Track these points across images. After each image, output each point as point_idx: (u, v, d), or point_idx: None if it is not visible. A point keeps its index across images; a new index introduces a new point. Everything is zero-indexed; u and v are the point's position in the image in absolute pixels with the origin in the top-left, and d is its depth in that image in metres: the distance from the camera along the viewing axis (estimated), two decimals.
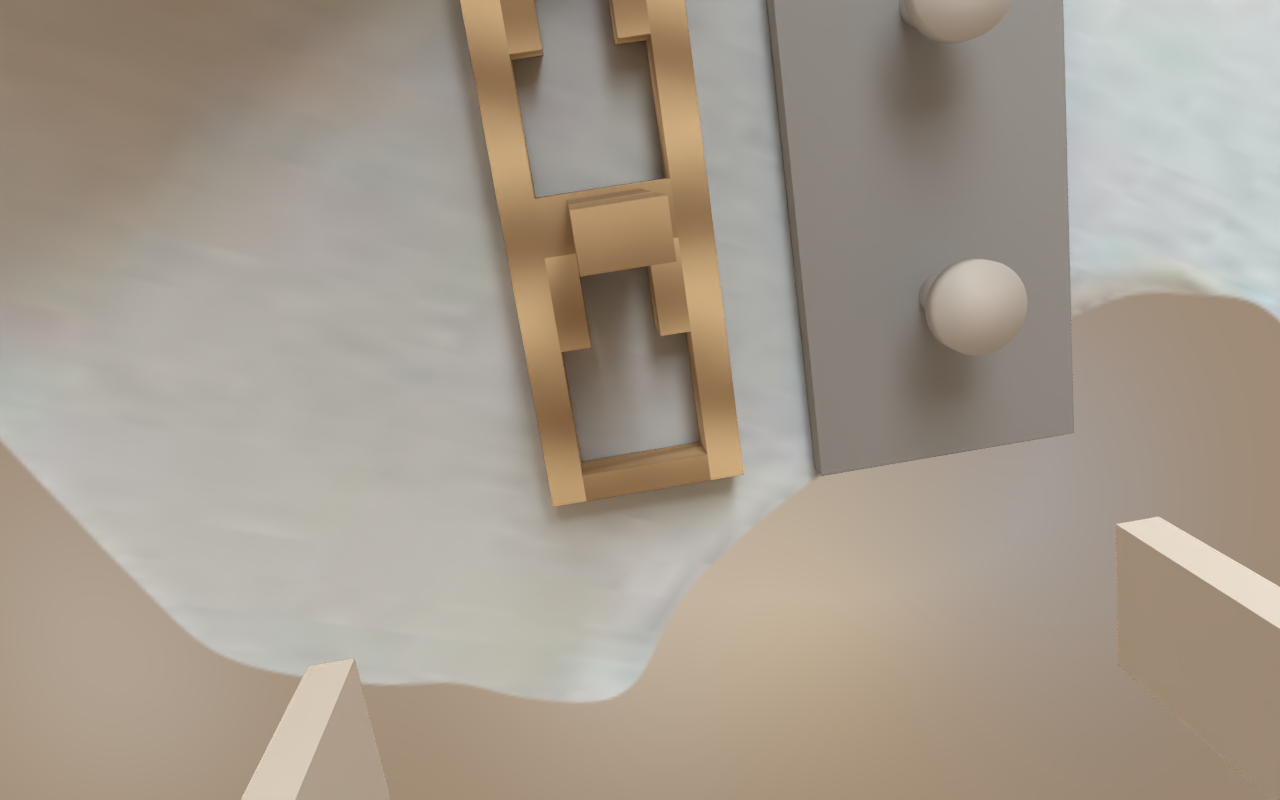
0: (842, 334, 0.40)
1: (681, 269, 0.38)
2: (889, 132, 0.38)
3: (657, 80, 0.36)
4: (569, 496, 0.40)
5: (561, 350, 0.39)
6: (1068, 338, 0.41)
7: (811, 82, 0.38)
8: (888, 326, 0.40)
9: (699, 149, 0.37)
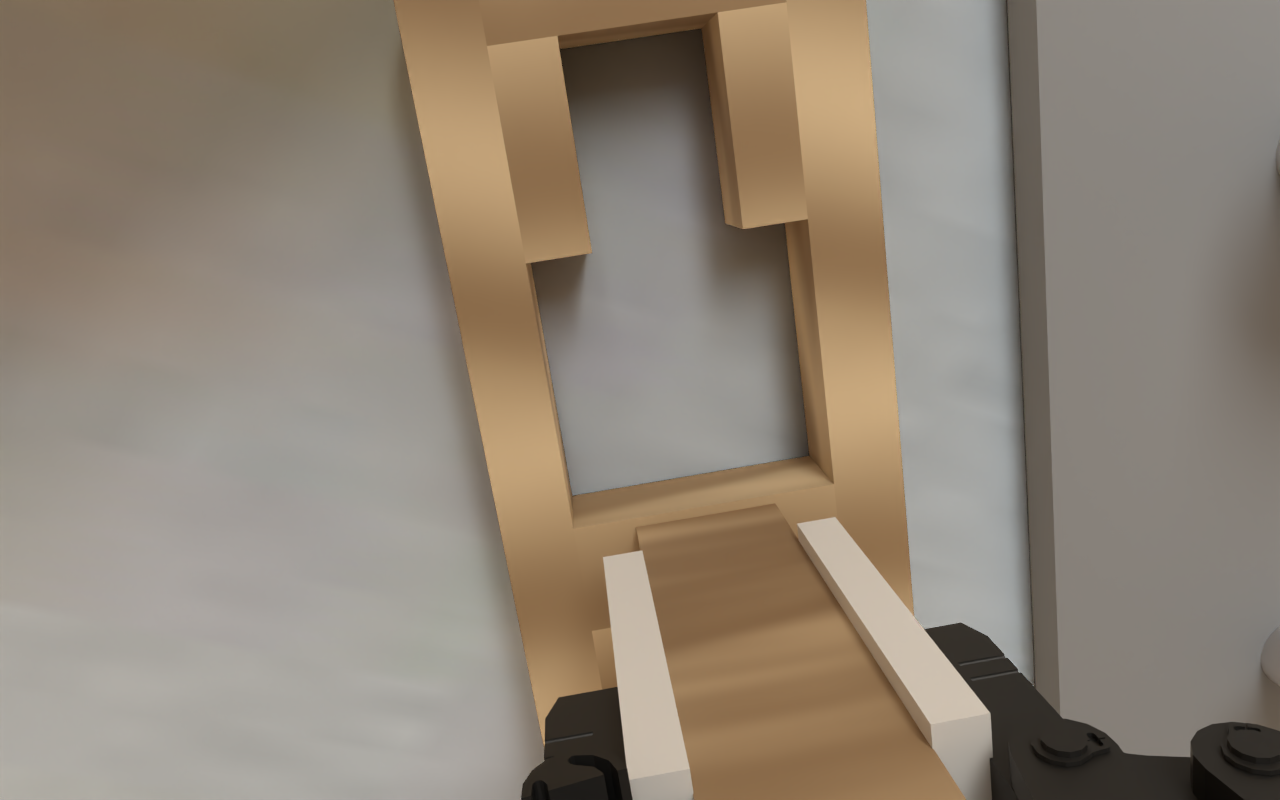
0: (1121, 723, 0.22)
1: None
2: (1236, 381, 0.20)
3: (817, 306, 0.18)
4: None
5: None
6: None
7: (1100, 296, 0.20)
8: (1203, 707, 0.23)
9: (892, 431, 0.19)
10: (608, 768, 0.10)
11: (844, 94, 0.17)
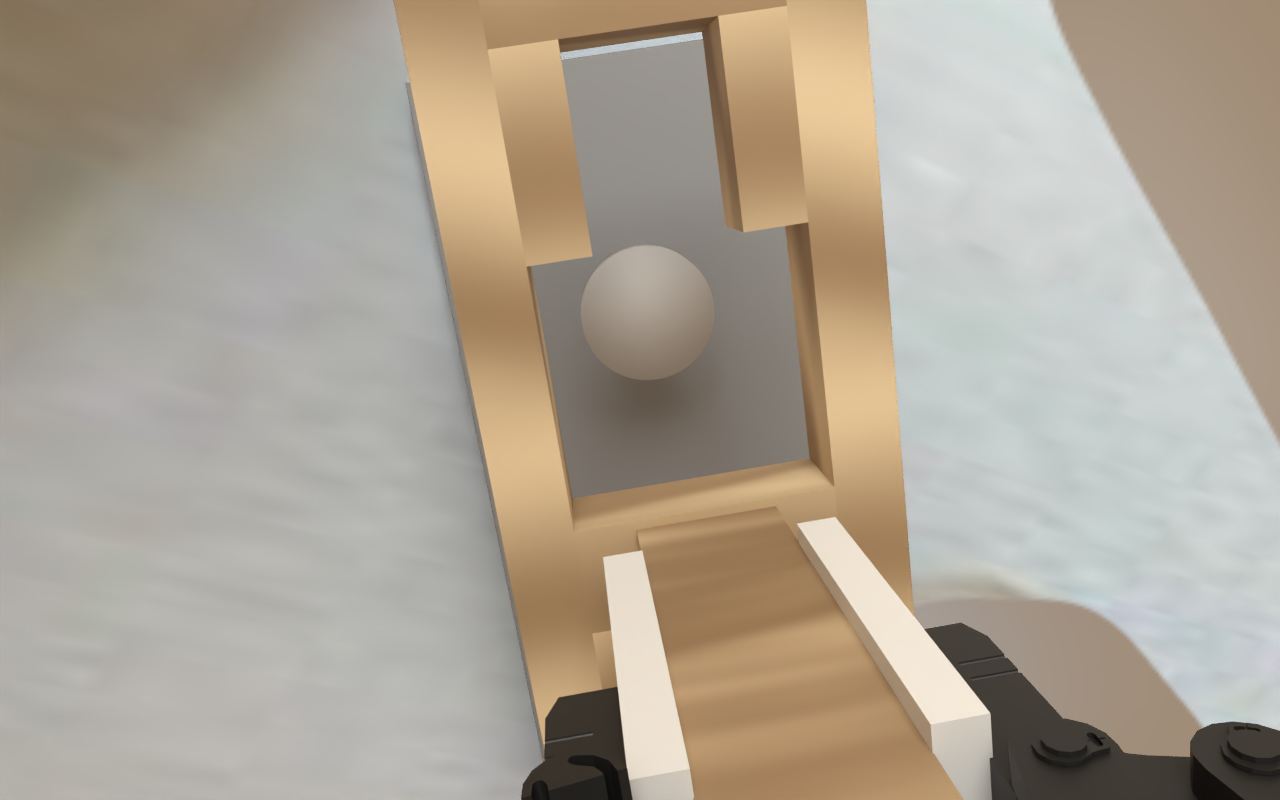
0: None
1: None
2: (608, 441, 0.31)
3: (817, 309, 0.18)
4: None
5: None
6: None
7: None
8: None
9: (892, 434, 0.19)
10: (608, 768, 0.10)
11: (844, 97, 0.17)
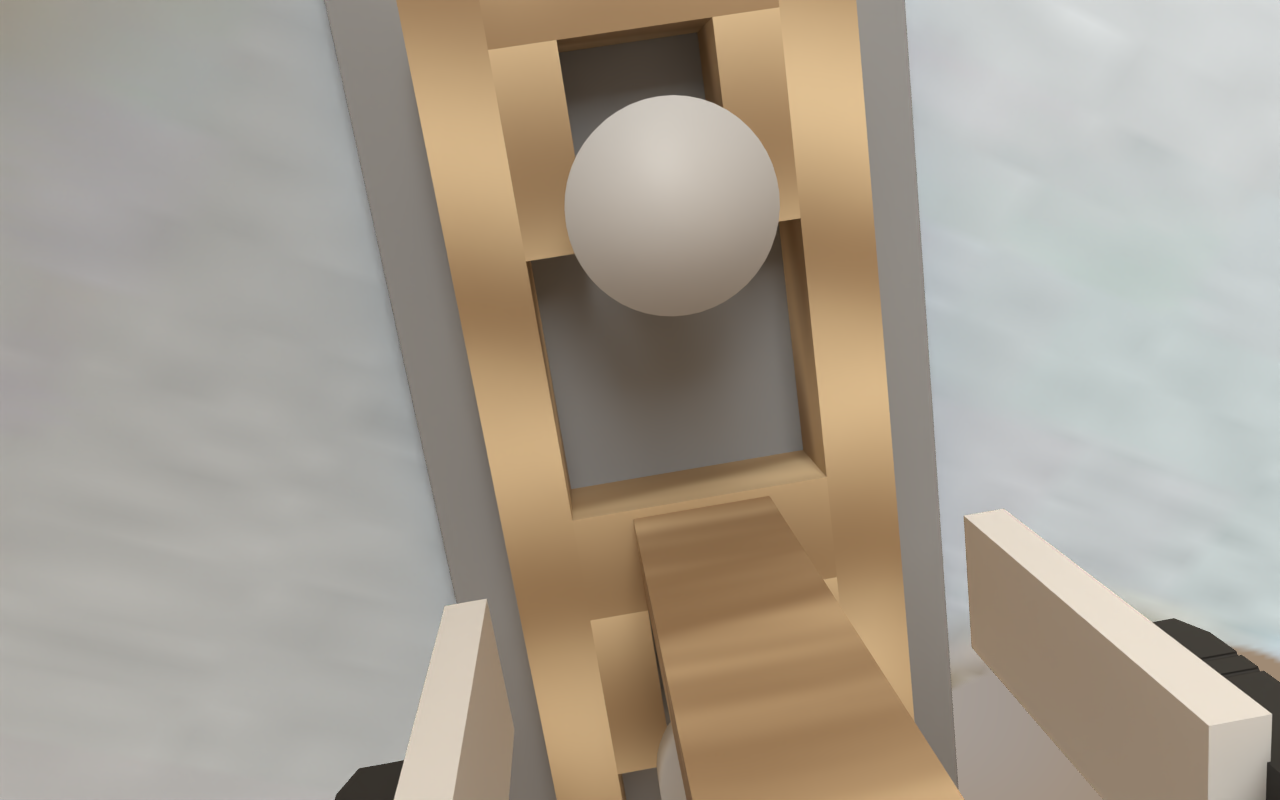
0: None
1: None
2: (609, 421, 0.21)
3: (809, 303, 0.19)
4: None
5: (619, 770, 0.21)
6: (949, 739, 0.24)
7: (455, 340, 0.20)
8: None
9: (883, 425, 0.20)
10: None
11: (836, 96, 0.18)
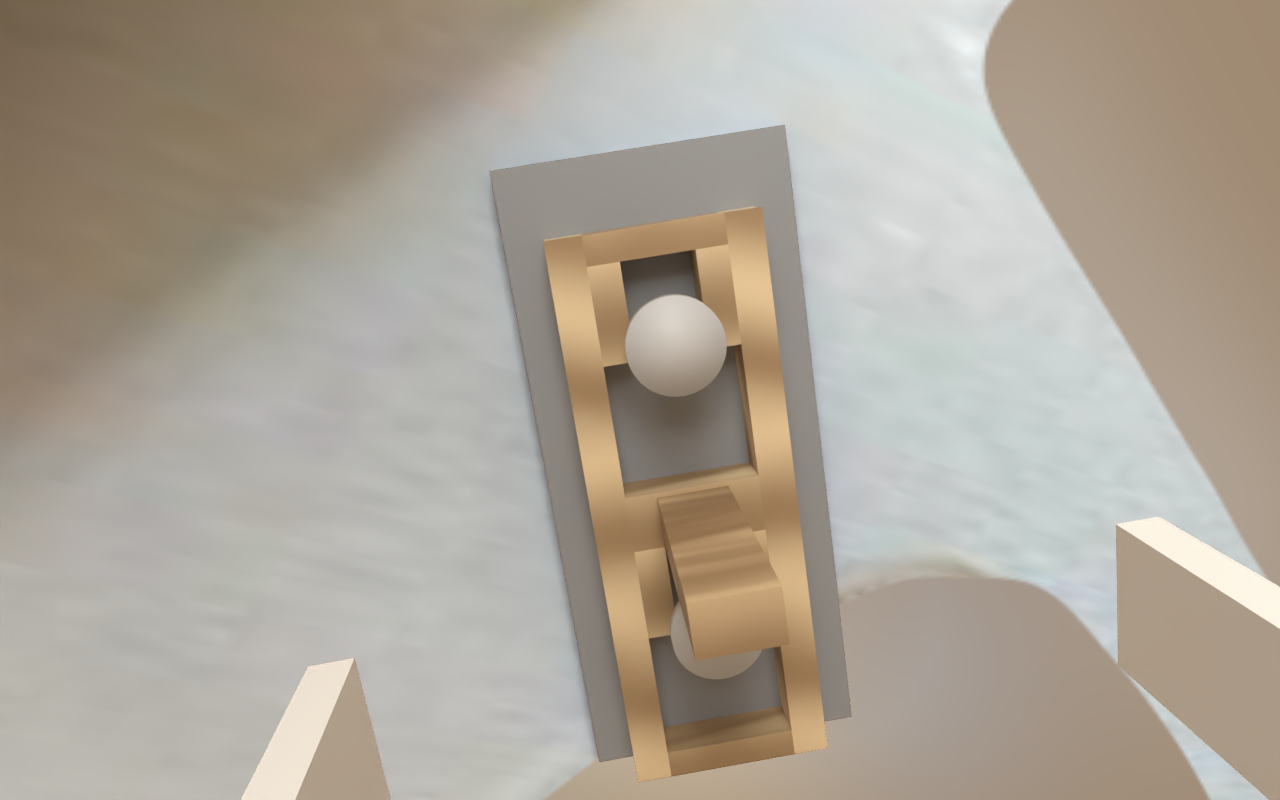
0: (610, 631, 0.41)
1: (768, 559, 0.39)
2: (643, 447, 0.39)
3: (747, 386, 0.37)
4: (654, 772, 0.41)
5: (649, 636, 0.39)
6: (838, 629, 0.42)
7: (562, 404, 0.39)
8: None
9: (787, 448, 0.38)
10: None
11: (757, 285, 0.36)
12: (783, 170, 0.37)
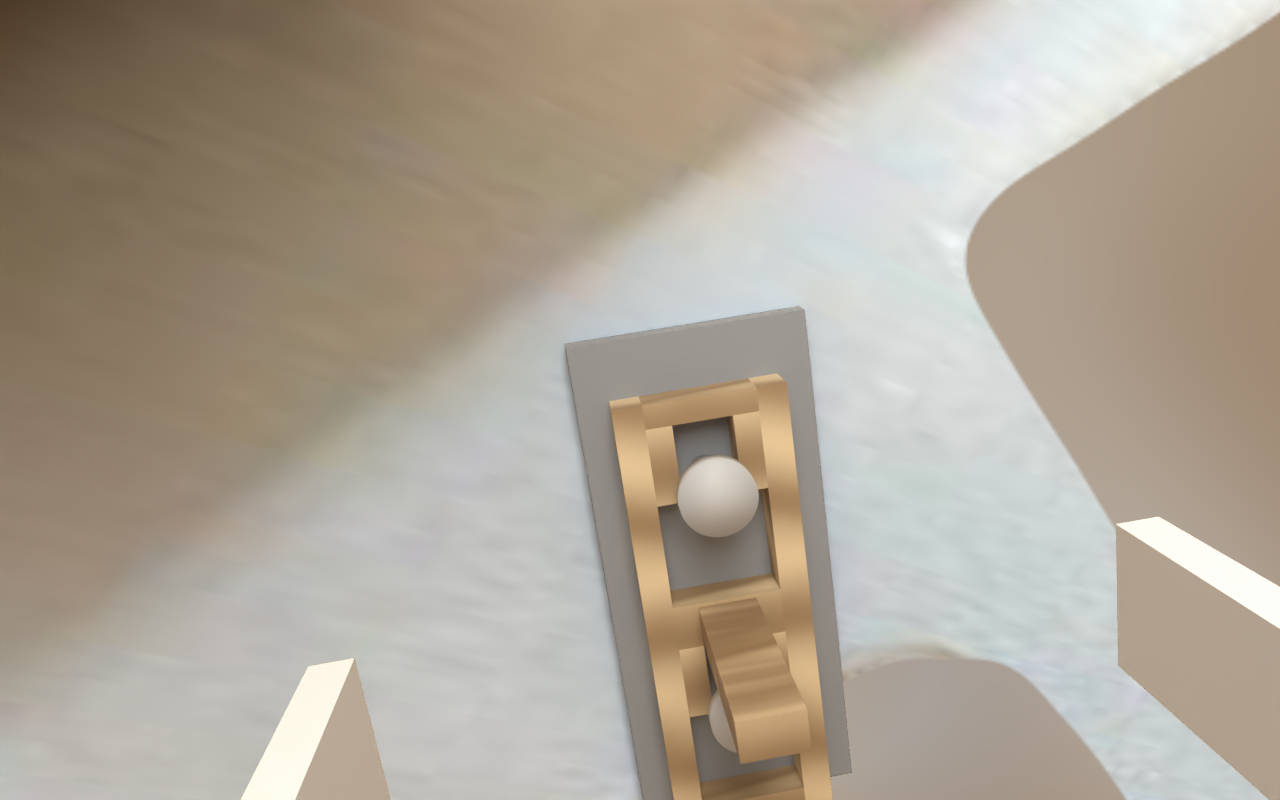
0: (656, 707, 0.50)
1: (787, 654, 0.48)
2: (685, 562, 0.48)
3: (772, 520, 0.46)
4: None
5: (690, 715, 0.48)
6: (842, 704, 0.51)
7: (620, 529, 0.47)
8: None
9: (804, 568, 0.47)
10: None
11: (782, 442, 0.45)
12: (802, 345, 0.46)
